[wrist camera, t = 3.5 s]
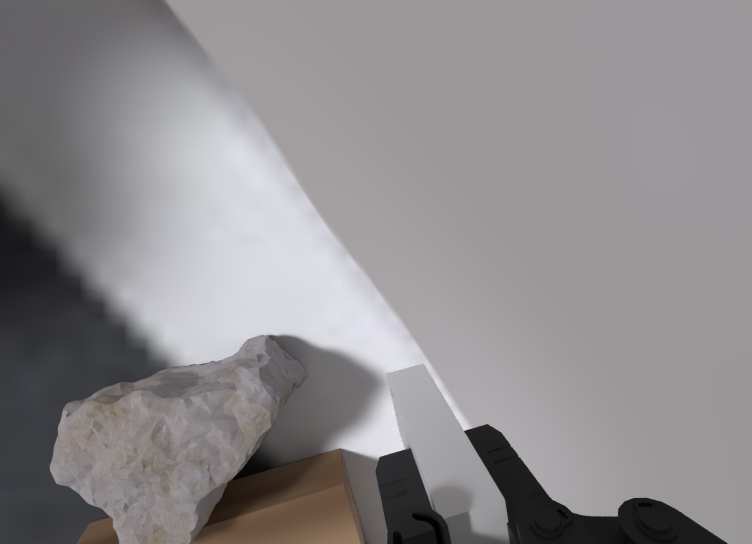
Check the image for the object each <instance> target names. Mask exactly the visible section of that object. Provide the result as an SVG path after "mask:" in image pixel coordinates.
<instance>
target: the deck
mask: <svg viewBox="0 0 752 544" xmlns="http://www.w3.org/2000/svg"><path fill="white" fill-rule="evenodd" d="M76 544H119V539H118V536H117V533H116V530H115V529H114V528H113V518H112V517H109V518H105V519H102V520H99V521H95V522H92V523H90V524H89V525H88V527H87V528H86V530H85V531H84V533H83V534H82V536H81V537H80V539H79V540H78V542H77V543H76ZM190 544H367V543H366V540H365V536H364V533H363V529H362V526H361V522H360V518H359V515H358V511H357V508H356V504H355V501H354V497H353V494H352V490H351V486H350V483H349V479H348V476H347V472H346V469H345V465H344V462H343V458H342V455H341V451H340V449H337V450H334V451H331V452H327V453H324V454H321V455H317V456H314V457H310V458H307V459H304V460H300V461H297V462H294V463H290V464H287V465H284V466H280V467H277V468H273V469H270V470H267V471H263V472H260V473H257V474H253V475H250V476H247V477H243V478H240V479H236V480H233V481H230V482H228V483H227V486H226V488H225V489H224V492H223V495H222V498H221V499H220V501H219V502H218V503H217V504H216V505H215V506H214V509H213V511H212V512H211V514H210V517H209V519H208V522H207V523H206V524H205V525H204V526H203V527H202V529H201V530H200V532H199V534H198V535H197V537H196V538H195V539H194V540H193V541H192V542H191V543H190Z"/></svg>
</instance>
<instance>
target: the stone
mask: <svg viewBox="0 0 752 544" xmlns="http://www.w3.org/2000/svg"><path fill="white" fill-rule="evenodd" d="M305 378H306V372H305V369H304V367H303V365H302V364H301V363H300V362H299V361H298V360H296V359H295V358H294V357H291V356H289V355H288V354H287V353H286V352H285V350H284V349H283V348H281V347H280V346H279V345H278V343H277V342H276V341H273V340H272V339H271V338H270V337H269V336H264V335H261V336H257V337H254V338H251V339H248V340H247V341H246V342H245V343H244V344H243V345H242V347H241V348H240V350H239V352H237V353H236V354H234V355H233V356H231V357H228V358H226V359H223V360H221V361H218V362H215V361H211V362H209V363H206V364H204V365H197V364H193V365H190V366H181V367H172V368H168V369H164V370H161V371H158V372H156V373H154V374H153V375H151V376H150V377H148V378H147V379H143V380H140V381H137V382H135V383H129V382H120V383H118V384H115V385H113V386H107V387H105V388H103V389H102V390H98V391H97V392H96V393H94V394H93V395H92V396H91V397H89V398H87V399H83V400H76V401H73V402H70V403H68V404H67V405H66V406H65V407H64V409H63V412H62V418H61V422H60V424H59V426H58V433H59V434H58V437H57V440H56V443H55V446H54V454H53V458H52V462H51V465H50V470H51V473H52V475H53V477H54V479H55V481H56V483H57V484H59V485H65V486H69V487H71V488H72V489H73V490H74V491H76V492H77V493H79V494H80V495H81V496H82V498H83V499H84V500H85V501H86V502H87V503H88V504H90V505H93V506H96V507H100V508H101V509H103V510H104V511H105V512H106V513H107V514H108V515H109V516H110V517H112V518H113V528H114V529H115V530H116V533H117V536H118V539H119V544H190V543H191V542H192V541H193V540H194V539H195V538H196V537H197V535H198V534H199V532H200V530H201V529H202V527H203V526H204V525H205V524H206V523H207V522H208V519H209V517H210V514H211V512H212V511H213V509H214V506H215V505H216V504H217V503H218V502H219V501H220V499H221V498H222V495H223V492H224V489H225V488H226V486H227V483H228V481H230V480H231V479H232V478H233V477H234V476H235V475H236V474H237V473H238V472H239V471H240V470H241V469H242V468H243V467H244V466H245V464H246V463H247V462H248V460H249V459H250V457H251V456H252V455H253V454H254V453H255V452H256V450H257V449H258V448H259V447H260V445H261V442H262V440H263V438H264V437H265V435H266V434H267V433H268V431H269V430H270V428H271V427H272V425H273V424H274V422H275V421H276V419H277V417H278V415H279V413H280V411H281V409H282V408H283V406H284V405H285V403H286V402H287V399H288V396H289V395H290V394H291V392H292V391H293V390H294V389H295V388H298V387H299V386H300V385H301V384H302V382H303V381H304V380H305Z"/></svg>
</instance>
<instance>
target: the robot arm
mask: <svg viewBox="0 0 752 544" xmlns="http://www.w3.org/2000/svg"><path fill="white" fill-rule="evenodd" d="M386 375H387V379H388V384H389V388H390V392H391V397H392V401H393V405H394V410H395V414H396V418H397V423H398V427H399V431H400V435H401V438H402V441H403V444H404V447H405V450H402V451H399V452H395V453H392V454H388V455H385V456H382V457H380V458H379V461H378V465H377V468H376V476H377V481H378V486H379V491H380V496H381V500H382V505H383V510H384V515H385V520H386V525H387V530H388V540H387V544H727V543H726V542H724V541H723V540H721V539H720V538H718V537H717V536H715V535H714V534H712V533H711V532H709V531H708V530H706V529H705V528H703V527H702V526H700V525H699V524H697V523H696V522H694V521H693V520H691V519H690V518H688V517H687V516H685V515H684V514H682V513H681V512H679V511H678V510H676V509H675V508H673V507H671V506H669V505H667V504H665V503H663V502H661V501H656V500H653V499H649V498H633V499H630V500H627V501H625V502H624V503H623V504H622V505H621V506H620V508H619V509H618V517H601V516H600V517H599V516H594V517H593V516H583V515H579V514H575V513H572V512H571V511H570V510H569V509H568V508H567V507H566V506H564V505H562V504H560V503H558V502H556V501H553V500H552V499H551V498H550V497H549V496H548V494H547V493H546V492H545V491H544V489H543V488H542V486H541V485H540V484H539V482H538V481H537V480H536V478H535V477H534V476H533V474H532V473H531V472H530V471H529V469H528V468H527V466H526V465H525V464H524V463H523V461H522V460H521V458H519V457H518V454H517V453H516V452H515V450H514V449H513V448H512V447H511V445H510V444H509V442H508V441H507V440H506V438H505V437H504V436H503V435H502V433H501V432H499V431H498V430H496V429H494V428H493V427H491V426H489V425H488V424H486V425H483V426H479V427H476V428H473V429H469V430H466V431H464V430H463V429H462V427H461V425H460V424H459V422H458V420H457V419H456V417H455V415H454V414H453V412H452V410H451V409H450V407H449V405H448V404H447V402H446V400H445V399H444V397H443V395H442V394H441V392H440V390H439V389H438V387H437V385H436V384H435V382H434V380H433V379H432V377H431V375H430V374H429V372H428V370H427V369H426V367H425V365H424V364H421V365H417V366H413V367H410V368H406V369H402V370H399V371H395V372H391V373H388V374H386Z"/></svg>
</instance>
